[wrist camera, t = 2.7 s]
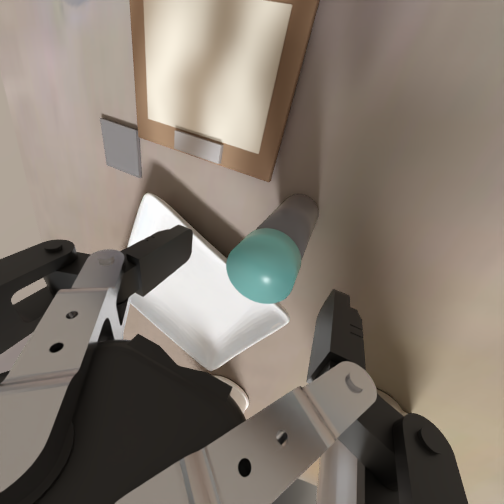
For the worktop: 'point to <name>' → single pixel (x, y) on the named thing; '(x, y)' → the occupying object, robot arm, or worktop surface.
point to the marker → (273, 252)
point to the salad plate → (201, 297)
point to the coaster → (121, 147)
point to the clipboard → (219, 76)
